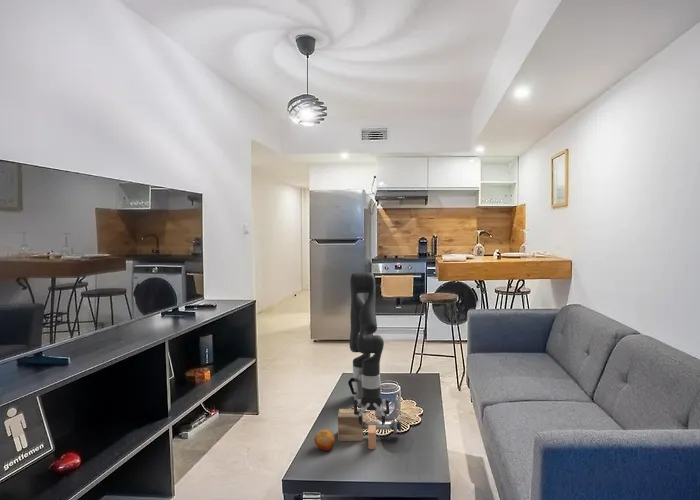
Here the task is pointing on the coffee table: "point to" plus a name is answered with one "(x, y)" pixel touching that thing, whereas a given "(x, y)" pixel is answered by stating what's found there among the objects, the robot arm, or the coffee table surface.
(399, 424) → the shaft
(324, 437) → the fruit
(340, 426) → the wooden block
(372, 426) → the block
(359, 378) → the coffeepot
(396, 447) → the coffee table surface
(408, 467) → the coffee table surface
